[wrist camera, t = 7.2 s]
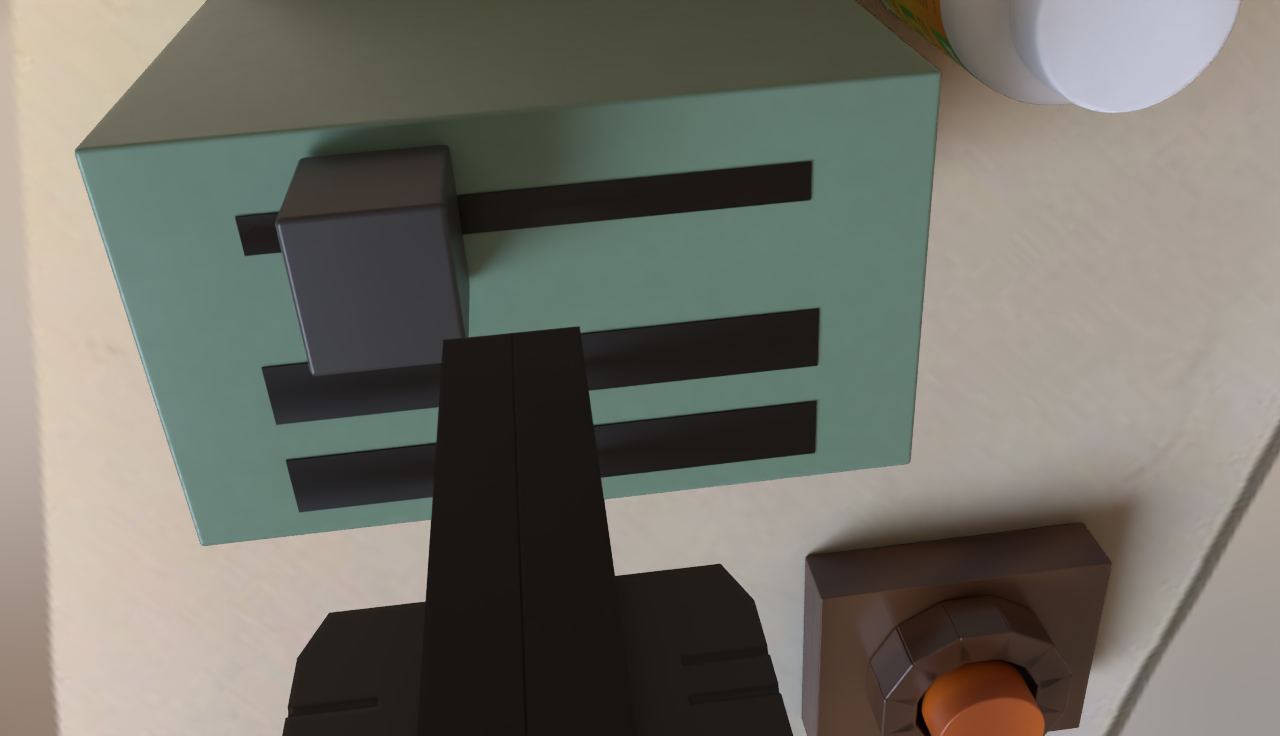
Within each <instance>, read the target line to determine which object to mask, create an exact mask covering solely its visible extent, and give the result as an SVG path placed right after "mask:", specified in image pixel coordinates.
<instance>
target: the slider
mask: <svg viewBox="0 0 1280 736" xmlns="http://www.w3.org/2000/svg"><path fill="white" fill-rule="evenodd" d="M275 225H276V230H277V234H278V238H279V242H280V247H281V251H282V255H283V259H284V264H285V268H286V272H287V276H288V280H289V285H290V289H291V293H292V297H293V302H294V306H295V310H296V314H297V319H298V323H299V327H300V331H301V336H302V340H303V344H304V348H305V352H306V357H307V361H308V365H309V369H310V372H311V373H312V375H314V376H321V375H331V374H340V373H349V372H359V371H368V370H377V369H387V368H396V367H406V366H415V365H424V364H434V363H442V350H443V340H448V339H457V338H467V337H469V298H470V282H469V276H468V269H467V262H466V255H465V248H464V241H463V235H462V228H461V221H460V214H459V207H458V200H457V194H456V187H455V180H454V173H453V166H452V159H451V153H450V149H449V147H448V146H447V145H434V146H424V147H413V148H402V149H391V150H381V151H370V152H359V153H348V154H337V155H327V156H316V157H305V158H302V159H300V160H299V162H298V165H297V167H296V170H295V172H294V175H293V177H292V180H291V183H290V185H289V188H288V190H287V193H286V196H285V198H284V201H283V203H282V206H281V208H280V211H279V214H278V216H277V219H276V223H275Z"/></svg>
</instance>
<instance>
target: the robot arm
mask: <svg viewBox="0 0 1280 736" xmlns="http://www.w3.org/2000/svg"><path fill="white" fill-rule="evenodd" d="M282 736H793V734H792V730H791V727H790V723H789V720H788V716H787V713H786V709H785V706H784V702H783V699H782V695H781V694H780V693H779V688H778V681H777V678H776V674H775V671H774V667H773V664H772V660H771V657H770V655H768V649H767V643H766V640H765V636H764V633H763V629H762V626H761V622H760V619H759V615H758V612H757V608H756V605H755V601H754V600H753V598H752V597H751V596H750V595H749V594H748V593H747V592H746V591H745V590H744V589H743V588H742V587H741V585H740V584H739V583H738V582H737V581H736V580H735V579H734V578H733V577H732V576H731V575H730V574H729V573H728V571H727V570H726V569H725V568H724V567H723V566H722V565H721V564H715V565H706V566H697V567H689V568H680V569H672V570H663V571H654V572H646V573H637V574H629V575H620V576H615V573H614V566H613V559H612V552H611V545H610V538H609V531H608V524H607V517H606V510H605V503H604V495H603V488H602V481H601V474H600V467H599V460H598V453H597V446H596V439H595V432H594V424H593V417H592V410H591V403H590V396H589V389H588V382H587V375H586V368H585V361H584V353H583V346H582V339H581V332H580V326H576V327H566V328H556V329H547V330H537V331H527V332H517V333H507V334H497V335H487V336H477V337H467V338H457V339H448V340H443V350H442V365H441V380H440V395H439V410H438V425H437V440H436V455H435V470H434V485H433V500H432V515H431V530H430V545H429V560H428V575H427V590H426V602H419V603H410V604H401V605H393V606H384V607H376V608H367V609H359V610H350V611H341V612H333V613H329V614H328V615H327V617H326V618H325V620H324V621H323V622H322V624H321V625H320V627H319V628H318V630H317V631H316V632H315V634H314V635H313V637H312V638H311V639H310V641H309V642H308V644H307V645H306V647H305V648H304V649H303V651H302V652H301V654H300V655H299V657H298V658H297V662H296V668H295V673H294V678H293V683H292V688H291V694H290V699H289V704H288V718H286V719H285V725H284V730H283V735H282Z"/></svg>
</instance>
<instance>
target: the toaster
mask: <svg viewBox="0 0 1280 736" xmlns="http://www.w3.org/2000/svg"><path fill="white" fill-rule="evenodd" d="M941 76H942V74H941V71H940V70H939V69H937V68H936V67H935V66H934V65H933V64H931V63H930V62H929V61H928V60H927V59H925V58H924V57H923V56H922V55H921V54H919V53H918V52H917V51H916V50H915V49H913V48H912V47H911V46H910V45H909V44H907V43H906V42H905V41H904V40H903V39H901V38H900V37H899V36H898V35H897V34H895V33H894V32H893V31H892V30H891V29H889V28H888V27H887V26H886V25H885V24H883V23H882V22H881V21H880V20H879V19H877V18H876V17H875V16H874V15H873V14H871V13H870V12H869V11H868V10H867V9H865V8H864V7H863V6H862V5H861V4H859V3H858V2H857V1H856V0H207V1H206V2H205V3H204V4H203V5H202V6H201V8H200V9H199V10H198V11H197V12H196V13H195V14H194V16H193V17H192V18H191V19H190V20H189V21H188V22H187V23H186V25H185V26H184V27H183V28H182V29H181V30H180V31H179V33H178V34H177V35H176V36H175V37H174V38H173V39H172V40H171V42H170V43H169V44H168V45H167V46H166V47H165V48H164V50H163V51H162V52H161V53H160V54H159V55H158V56H157V58H156V59H155V60H154V61H153V62H152V63H151V64H150V65H149V67H148V68H147V69H146V70H145V71H144V72H143V73H142V75H141V76H140V77H139V78H138V79H137V80H136V81H135V82H134V84H133V85H132V86H131V87H130V88H129V89H128V90H127V92H126V93H125V94H124V95H123V96H122V97H121V98H120V99H119V101H118V102H117V103H116V104H115V105H114V106H113V107H112V109H111V110H110V111H109V112H108V113H107V114H106V115H105V117H104V118H103V119H102V120H101V121H100V122H99V123H98V124H97V126H96V127H95V128H94V129H93V130H92V131H91V132H90V134H89V135H88V136H87V137H86V138H85V139H84V140H83V141H82V143H81V144H80V145H79V146H78V147H77V148H76V149H75V156H76V159H77V162H78V165H79V168H80V172H81V175H82V178H83V181H84V184H85V187H86V190H87V193H88V196H89V200H90V203H91V206H92V209H93V212H94V215H95V218H96V221H97V224H98V227H99V231H100V234H101V237H102V240H103V243H104V246H105V249H106V252H107V255H108V258H109V262H110V265H111V268H112V271H113V274H114V277H115V280H116V283H117V286H118V289H119V293H120V296H121V299H122V302H123V305H124V308H125V311H126V314H127V317H128V321H129V324H130V327H131V330H132V333H133V336H134V339H135V342H136V345H137V348H138V352H139V355H140V358H141V361H142V364H143V367H144V370H145V373H146V376H147V379H148V383H149V386H150V389H151V392H152V395H153V398H154V401H155V404H156V407H157V411H158V414H159V417H160V420H161V423H162V426H163V429H164V432H165V435H166V438H167V442H168V445H169V448H170V451H171V454H172V457H173V460H174V463H175V466H176V469H177V473H178V476H179V479H180V482H181V485H182V488H183V491H184V494H185V497H186V500H187V504H188V507H189V510H190V513H191V516H192V519H193V522H194V525H195V528H196V532H197V535H198V538H199V541H200V544H201V545H203V546H208V545H217V544H225V543H234V542H243V541H251V540H260V539H268V538H277V537H285V536H294V535H303V534H311V533H320V532H328V531H337V530H345V529H354V528H363V527H371V526H380V525H388V524H397V523H406V522H414V521H423V520H431V515H432V500H433V485H434V470H435V455H436V440H437V425H438V410H439V395H440V380H441V365H442V363H434V364H424V365H415V366H406V367H396V368H387V369H377V370H368V371H359V372H349V373H340V374H331V375H321V376H314V375H312V373H311V372H310V369H309V365H308V361H307V357H306V352H305V348H304V344H303V340H302V336H301V331H300V327H299V323H298V319H297V314H296V310H295V306H294V302H293V297H292V293H291V289H290V285H289V280H288V276H287V272H286V268H285V264H284V259H283V255H282V251H281V247H280V242H279V238H278V234H277V230H276V225H275V223H276V219H277V216H278V214H279V211H280V208H281V206H282V203H283V201H284V198H285V196H286V193H287V190H288V188H289V185H290V183H291V180H292V177H293V175H294V172H295V170H296V167H297V165H298V162H299V160H300V159H302V158H305V157H316V156H327V155H337V154H348V153H359V152H370V151H381V150H391V149H402V148H413V147H424V146H434V145H447V146H448V147H449V149H450V153H451V159H452V166H453V173H454V180H455V187H456V194H457V200H458V207H459V214H460V221H461V228H462V235H463V241H464V248H465V255H466V262H467V269H468V276H469V282H470V298H469V337H477V336H487V335H497V334H507V333H517V332H527V331H537V330H547V329H556V328H566V327H576V326H580V332H581V339H582V346H583V353H584V361H585V368H586V375H587V382H588V389H589V396H590V403H591V410H592V417H593V424H594V432H595V439H596V446H597V453H598V460H599V467H600V474H601V481H602V488H603V495H604V499H611V498H620V497H629V496H637V495H646V494H654V493H663V492H672V491H680V490H689V489H697V488H706V487H714V486H723V485H732V484H740V483H749V482H757V481H766V480H775V479H783V478H792V477H800V476H809V475H817V474H826V473H835V472H843V471H852V470H860V469H869V468H878V467H886V466H895V465H903V464H908V463H910V460H911V449H912V436H913V424H914V411H915V399H916V386H917V374H918V362H919V349H920V337H921V324H922V312H923V299H924V287H925V275H926V262H927V250H928V237H929V225H930V212H931V200H932V188H933V175H934V163H935V150H936V138H937V125H938V113H939V101H940V88H941Z"/></svg>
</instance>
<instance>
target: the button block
mask: <svg viewBox="0 0 1280 736" xmlns="http://www.w3.org/2000/svg"><path fill="white" fill-rule="evenodd" d="M1111 565H1112V562H1111V561H1110V559H1109V558H1108V556H1107V555H1106V554H1105V552H1104V551H1103V549H1102V548H1101V547H1100V545H1099V544H1098V543H1097V541H1096V540H1095V538H1094V537H1093V536H1092V534H1091V533H1090V531H1089V530H1088V529H1087V527H1086V526H1085V525H1084V523H1077V524H1068V525H1060V526H1052V527H1044V528H1035V529H1027V530H1019V531H1011V532H1003V533H994V534H986V535H978V536H970V537H962V538H953V539H945V540H937V541H929V542H920V543H912V544H904V545H896V546H888V547H879V548H871V549H863V550H855V551H847V552H838V553H830V554H822V555H814V556H807V557H806V560H805V601H804V642H803V683H802V721H803V724H804V727H805V730H806V733H807V736H931V734H930V732H929V729H928V727H927V725H926V722H925V720H924V718H923V715H922V701H923V698H924V695H925V693H926V691H927V690H928V688H929V687H930V686H931V685H932V683H933V682H934V681H935V680H936V679H937V678H939V677H941V676H943V675H945V674H947V673H949V672H951V671H953V670H954V669H956V668H958V667H960V666H962V665H964V664H966V663H972V662H980V661H987V660H999V661H1003V662H1005V663H1008V664H1010V665H1011V666H1013V667H1014V668H1016V669H1017V670H1018V671H1019V672H1020V674H1021V675H1022V677H1023V679H1024V681H1025V683H1026V684H1027V686H1028V688H1029V690H1030V692H1031V694H1032V695H1033V697H1034V699H1035V701H1036V703H1037V705H1038V706H1039V708H1040V710H1041V712H1042V714H1043V716H1044V720H1045V729H1044V733H1043V736H1044V735H1045V734H1046V733H1047V732H1049V731H1056V730H1064V729H1071V728H1078V727H1079V723H1080V718H1081V713H1082V708H1083V704H1084V699H1085V694H1086V689H1087V684H1088V679H1089V674H1090V669H1091V664H1092V659H1093V654H1094V649H1095V644H1096V639H1097V634H1098V629H1099V624H1100V619H1101V614H1102V609H1103V604H1104V599H1105V595H1106V590H1107V585H1108V580H1109V575H1110V570H1111Z"/></svg>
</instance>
